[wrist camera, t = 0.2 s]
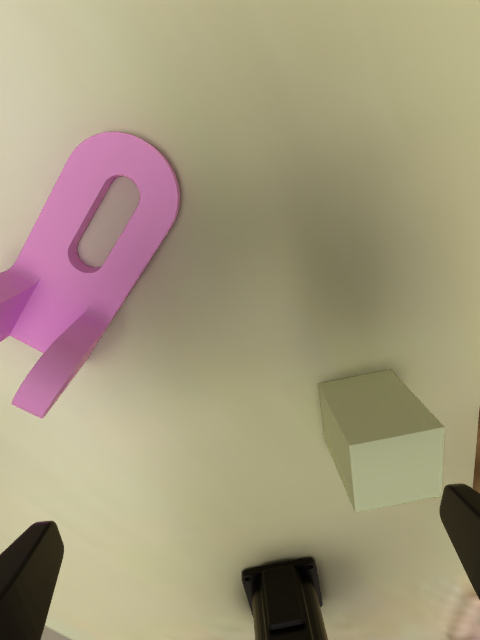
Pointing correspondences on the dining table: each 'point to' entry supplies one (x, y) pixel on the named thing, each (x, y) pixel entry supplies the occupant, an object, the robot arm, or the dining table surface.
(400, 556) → the dining table surface
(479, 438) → the walnut block
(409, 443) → the sage cube
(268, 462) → the dining table surface
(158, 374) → the dining table surface
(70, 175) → the bracket
